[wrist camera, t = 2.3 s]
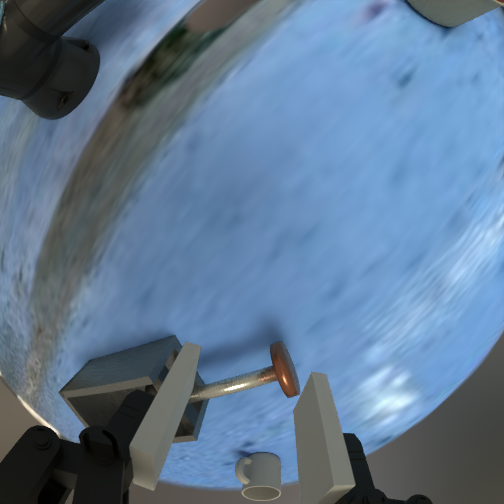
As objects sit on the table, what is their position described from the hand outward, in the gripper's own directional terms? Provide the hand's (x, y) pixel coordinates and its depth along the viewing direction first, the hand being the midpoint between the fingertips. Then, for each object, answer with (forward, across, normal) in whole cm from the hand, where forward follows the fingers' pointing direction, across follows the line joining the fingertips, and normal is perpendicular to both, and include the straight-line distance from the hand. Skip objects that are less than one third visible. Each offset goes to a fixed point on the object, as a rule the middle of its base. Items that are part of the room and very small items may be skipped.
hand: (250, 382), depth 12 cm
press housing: (+25, -14, -25) cm, 38 cm away
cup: (+25, +10, -40) cm, 48 cm away
